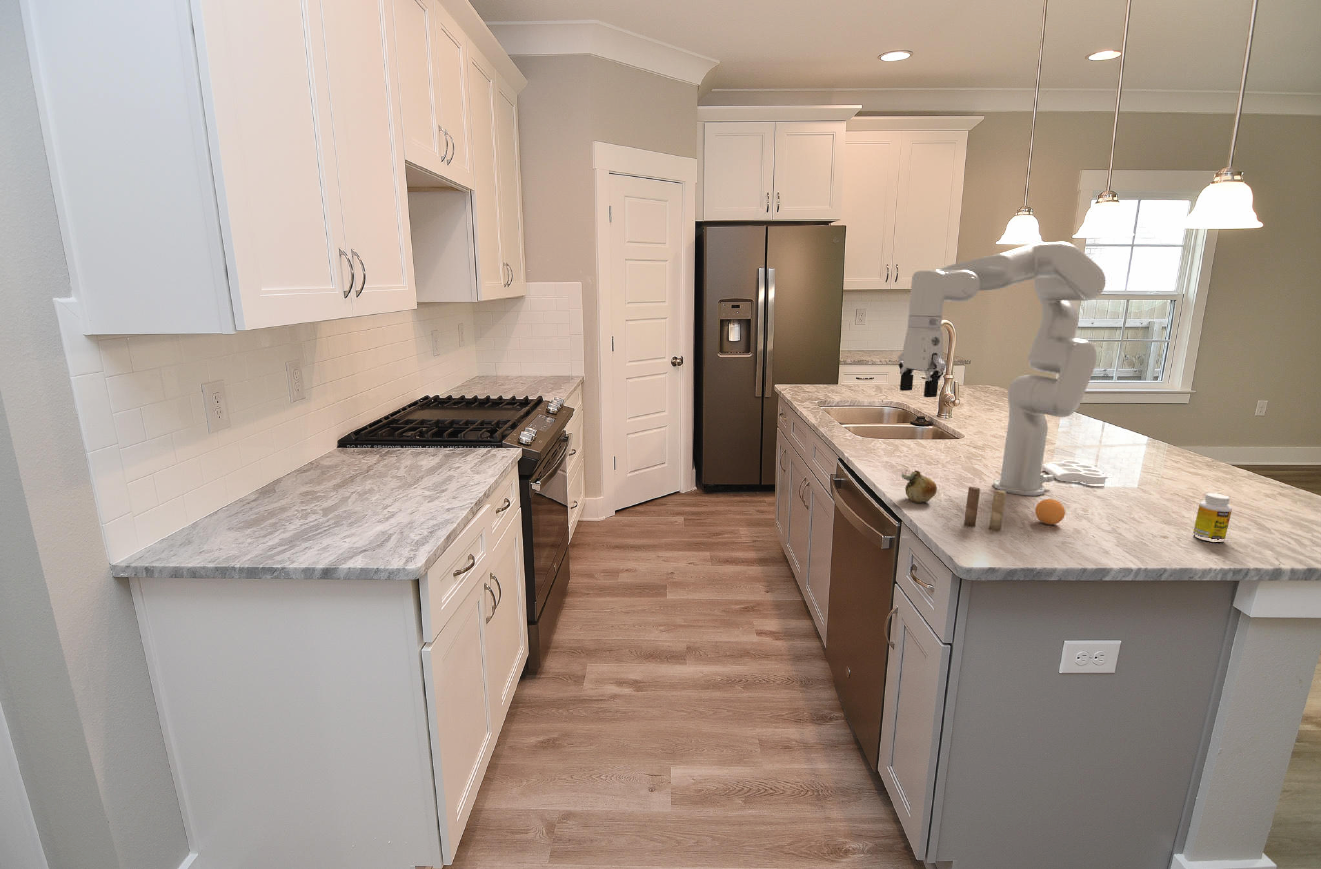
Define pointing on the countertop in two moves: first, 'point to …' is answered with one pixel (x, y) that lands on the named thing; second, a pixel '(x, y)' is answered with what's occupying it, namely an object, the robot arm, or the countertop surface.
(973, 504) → the walnut pin
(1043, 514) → the ball
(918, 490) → the onion
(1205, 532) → the supplement bottle
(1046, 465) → the white egg tray
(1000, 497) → the maple pin
